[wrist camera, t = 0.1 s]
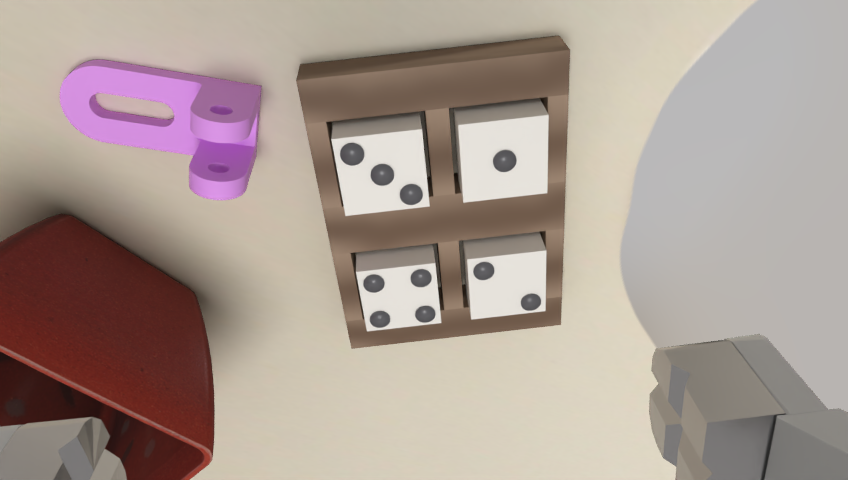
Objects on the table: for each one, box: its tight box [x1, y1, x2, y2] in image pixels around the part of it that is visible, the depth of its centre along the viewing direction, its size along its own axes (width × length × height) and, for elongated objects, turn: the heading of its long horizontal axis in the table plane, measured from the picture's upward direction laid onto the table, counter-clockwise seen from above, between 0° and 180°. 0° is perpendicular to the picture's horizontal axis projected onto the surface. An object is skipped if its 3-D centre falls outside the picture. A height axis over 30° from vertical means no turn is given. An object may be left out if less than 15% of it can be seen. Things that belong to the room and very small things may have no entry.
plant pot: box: [0, 214, 214, 480], centre depth 49 cm, size 19×19×17 cm
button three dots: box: [331, 111, 430, 216], centre depth 47 cm, size 6×6×3 cm
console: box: [296, 36, 570, 349], centre depth 52 cm, size 24×18×3 cm
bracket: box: [60, 60, 261, 200], centre depth 45 cm, size 13×6×7 cm, turn 78°
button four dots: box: [356, 244, 441, 331], centre depth 53 cm, size 6×6×3 cm
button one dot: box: [453, 98, 549, 203], centre depth 47 cm, size 6×6×3 cm
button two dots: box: [463, 232, 546, 320], centre depth 53 cm, size 6×6×3 cm
